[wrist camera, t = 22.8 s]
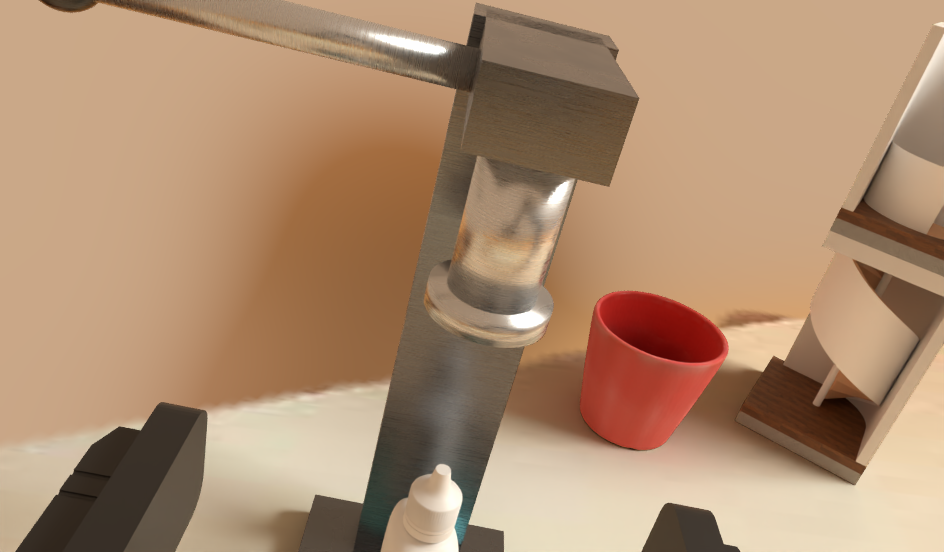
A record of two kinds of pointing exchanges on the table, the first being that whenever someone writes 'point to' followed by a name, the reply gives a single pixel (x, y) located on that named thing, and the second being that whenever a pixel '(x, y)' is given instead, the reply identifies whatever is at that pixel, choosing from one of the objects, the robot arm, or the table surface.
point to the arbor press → (458, 225)
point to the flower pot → (646, 367)
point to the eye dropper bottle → (426, 516)
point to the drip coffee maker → (870, 294)
